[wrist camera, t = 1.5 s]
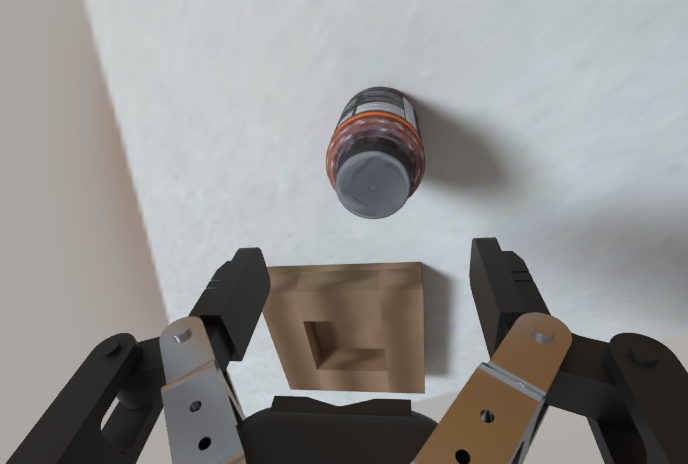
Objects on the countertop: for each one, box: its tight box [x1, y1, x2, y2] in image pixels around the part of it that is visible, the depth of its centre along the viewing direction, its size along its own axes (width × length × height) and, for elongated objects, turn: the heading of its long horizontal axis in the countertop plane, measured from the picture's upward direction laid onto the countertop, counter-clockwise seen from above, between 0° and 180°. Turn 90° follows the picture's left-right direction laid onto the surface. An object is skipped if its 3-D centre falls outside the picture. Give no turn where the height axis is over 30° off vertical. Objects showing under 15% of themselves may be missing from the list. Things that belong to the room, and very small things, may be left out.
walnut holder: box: [262, 262, 425, 394], centre depth 39 cm, size 16×16×4 cm
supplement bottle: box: [326, 87, 425, 219], centre depth 23 cm, size 6×6×11 cm
